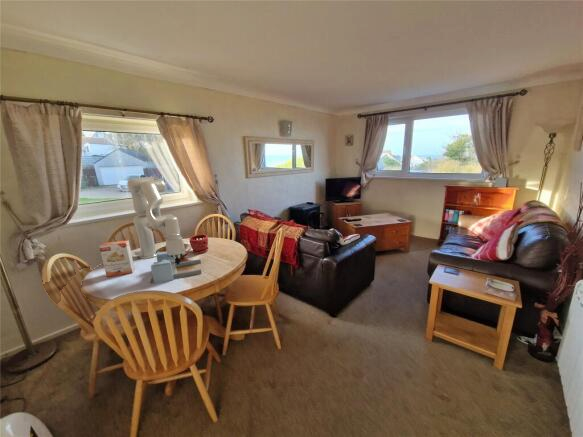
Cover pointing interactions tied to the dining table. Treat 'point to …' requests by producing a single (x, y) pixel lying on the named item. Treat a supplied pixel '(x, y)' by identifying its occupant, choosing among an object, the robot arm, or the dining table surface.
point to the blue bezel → (162, 268)
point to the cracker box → (117, 258)
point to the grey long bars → (185, 272)
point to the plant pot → (199, 243)
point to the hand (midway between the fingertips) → (178, 263)
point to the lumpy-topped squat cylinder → (172, 266)
